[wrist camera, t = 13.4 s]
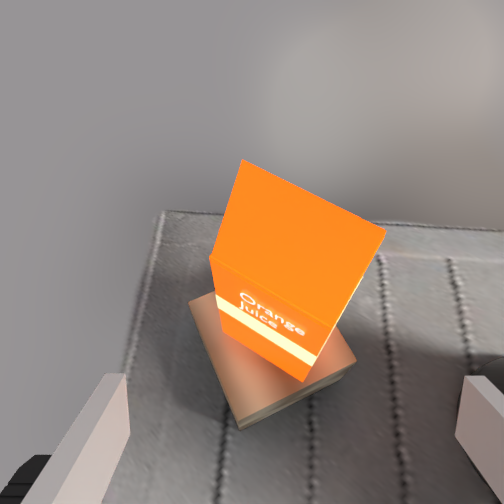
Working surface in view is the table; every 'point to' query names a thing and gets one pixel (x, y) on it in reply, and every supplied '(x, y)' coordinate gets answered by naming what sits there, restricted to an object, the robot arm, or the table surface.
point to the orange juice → (286, 267)
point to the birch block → (262, 368)
